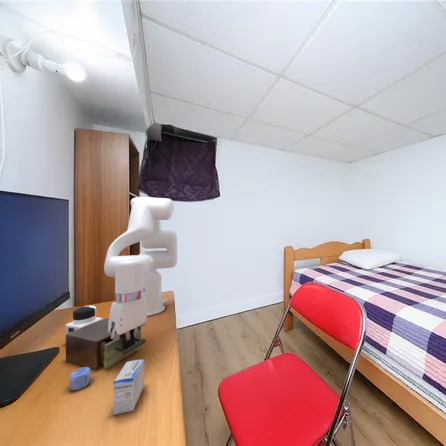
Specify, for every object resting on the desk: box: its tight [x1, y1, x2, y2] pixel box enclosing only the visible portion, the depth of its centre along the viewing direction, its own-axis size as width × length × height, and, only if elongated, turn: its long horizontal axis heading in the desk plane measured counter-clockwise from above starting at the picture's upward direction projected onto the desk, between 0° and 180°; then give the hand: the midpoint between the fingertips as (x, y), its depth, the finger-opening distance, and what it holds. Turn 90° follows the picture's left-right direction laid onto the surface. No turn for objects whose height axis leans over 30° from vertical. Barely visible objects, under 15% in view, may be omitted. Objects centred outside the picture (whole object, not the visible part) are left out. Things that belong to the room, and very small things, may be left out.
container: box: [65, 305, 104, 335], centre depth 84 cm, size 8×8×13 cm
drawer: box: [99, 327, 147, 369], centre depth 75 cm, size 18×11×7 cm, turn 75°
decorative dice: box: [69, 366, 91, 391], centre depth 62 cm, size 4×4×4 cm
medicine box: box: [112, 358, 145, 416], centre depth 57 cm, size 8×4×9 cm, turn 20°
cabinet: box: [65, 317, 112, 371], centre depth 76 cm, size 15×13×9 cm
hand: (129, 349), depth 73 cm, fingers closed
